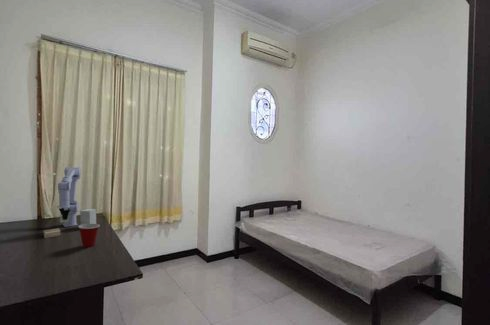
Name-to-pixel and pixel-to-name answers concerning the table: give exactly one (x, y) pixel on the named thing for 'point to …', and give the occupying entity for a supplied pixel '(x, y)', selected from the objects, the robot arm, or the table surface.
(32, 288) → the table surface
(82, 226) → the plastic cup
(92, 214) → the supplement box
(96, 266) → the table surface
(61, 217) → the sage cube
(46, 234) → the beech base
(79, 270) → the table surface
